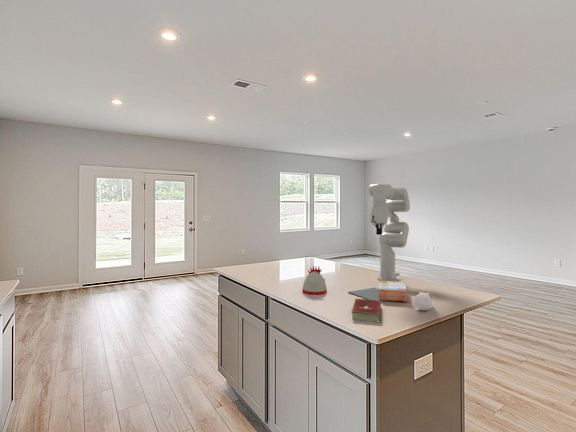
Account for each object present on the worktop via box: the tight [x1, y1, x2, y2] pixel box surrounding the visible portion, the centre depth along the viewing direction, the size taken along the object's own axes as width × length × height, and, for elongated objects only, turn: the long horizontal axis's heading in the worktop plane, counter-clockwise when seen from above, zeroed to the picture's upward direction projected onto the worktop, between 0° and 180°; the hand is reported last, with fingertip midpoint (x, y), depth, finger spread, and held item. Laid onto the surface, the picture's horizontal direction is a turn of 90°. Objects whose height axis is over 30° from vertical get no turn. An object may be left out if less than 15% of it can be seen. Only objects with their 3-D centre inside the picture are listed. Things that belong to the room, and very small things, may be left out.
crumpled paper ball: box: [413, 291, 437, 312], centre depth 154 cm, size 9×11×12 cm
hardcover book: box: [351, 298, 382, 323], centre depth 148 cm, size 12×21×4 cm, turn 163°
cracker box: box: [378, 280, 408, 302], centre depth 175 cm, size 14×6×21 cm
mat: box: [347, 287, 390, 303], centre depth 178 cm, size 20×22×1 cm
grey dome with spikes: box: [302, 265, 328, 296], centre depth 186 cm, size 14×14×15 cm
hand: (379, 234), depth 196 cm, fingers closed
